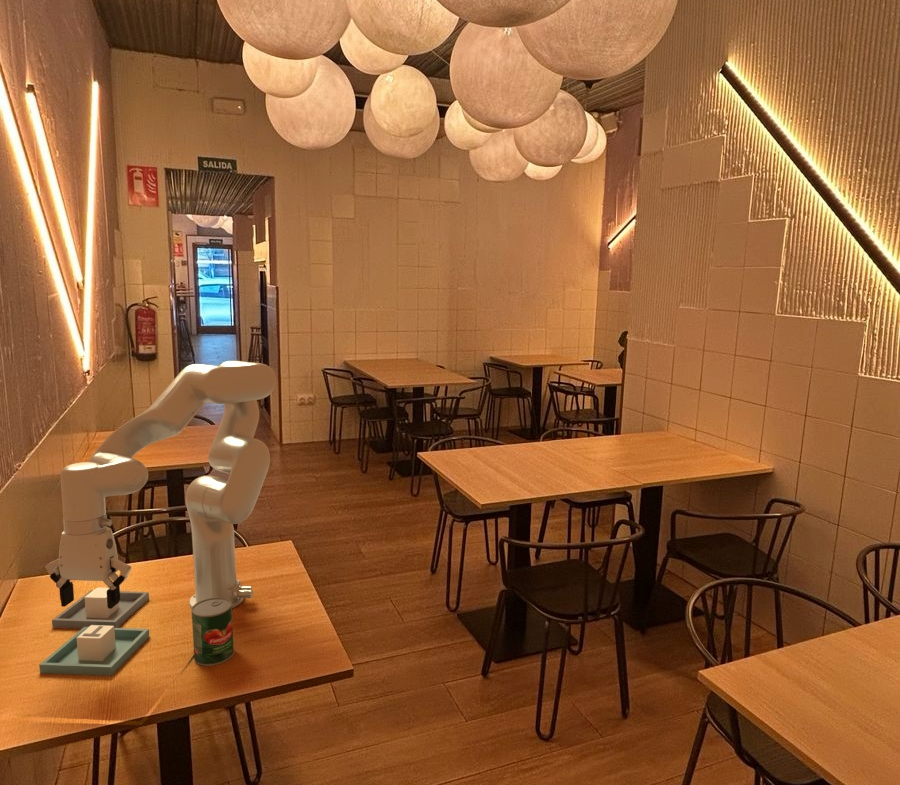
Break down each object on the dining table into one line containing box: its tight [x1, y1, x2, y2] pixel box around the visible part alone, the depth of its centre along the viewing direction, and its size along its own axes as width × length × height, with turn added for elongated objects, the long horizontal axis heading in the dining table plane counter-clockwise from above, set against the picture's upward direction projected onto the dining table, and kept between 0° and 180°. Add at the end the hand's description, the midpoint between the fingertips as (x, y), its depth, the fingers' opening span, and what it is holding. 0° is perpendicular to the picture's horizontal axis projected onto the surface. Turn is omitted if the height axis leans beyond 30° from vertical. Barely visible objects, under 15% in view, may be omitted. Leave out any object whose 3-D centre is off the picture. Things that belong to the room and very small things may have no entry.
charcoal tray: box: [51, 589, 150, 630], centre depth 152 cm, size 15×15×2 cm
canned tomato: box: [190, 597, 235, 667], centre depth 135 cm, size 8×8×11 cm
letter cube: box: [76, 625, 116, 661], centre depth 135 cm, size 5×5×5 cm
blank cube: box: [84, 587, 119, 618], centre depth 152 cm, size 5×5×5 cm
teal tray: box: [39, 627, 150, 677], centre depth 135 cm, size 15×15×2 cm
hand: (90, 604), depth 133 cm, fingers open, 9 cm apart
